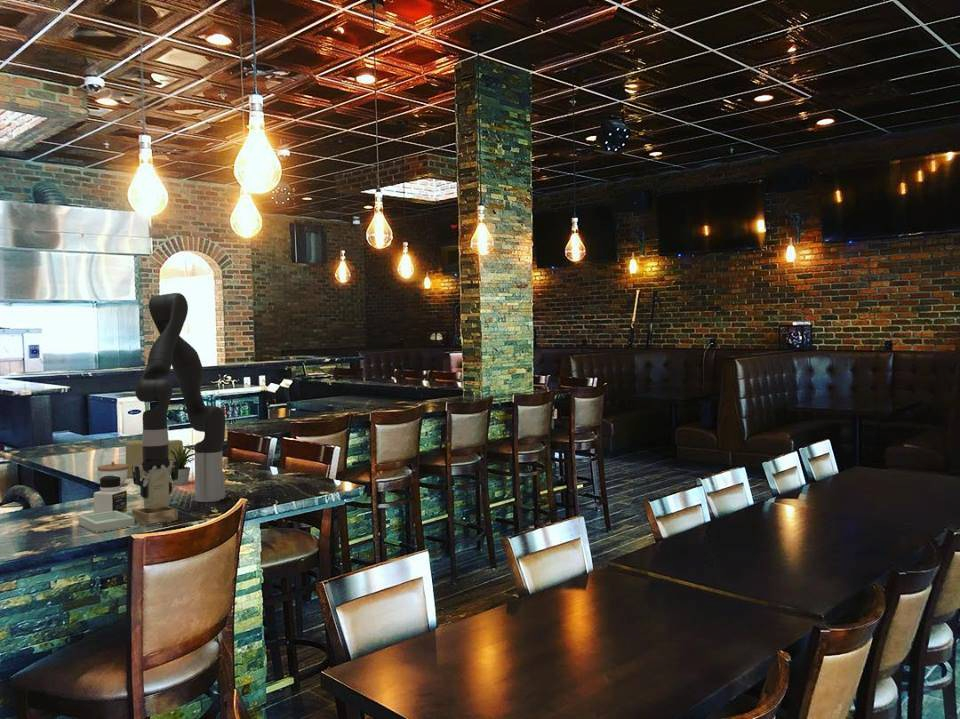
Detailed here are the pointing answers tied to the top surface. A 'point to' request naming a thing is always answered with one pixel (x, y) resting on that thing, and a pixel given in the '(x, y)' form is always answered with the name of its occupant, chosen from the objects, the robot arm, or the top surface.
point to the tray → (106, 521)
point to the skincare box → (157, 489)
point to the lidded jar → (114, 471)
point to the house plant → (182, 464)
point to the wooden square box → (154, 515)
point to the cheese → (136, 454)
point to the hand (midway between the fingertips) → (156, 496)
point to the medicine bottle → (110, 495)
